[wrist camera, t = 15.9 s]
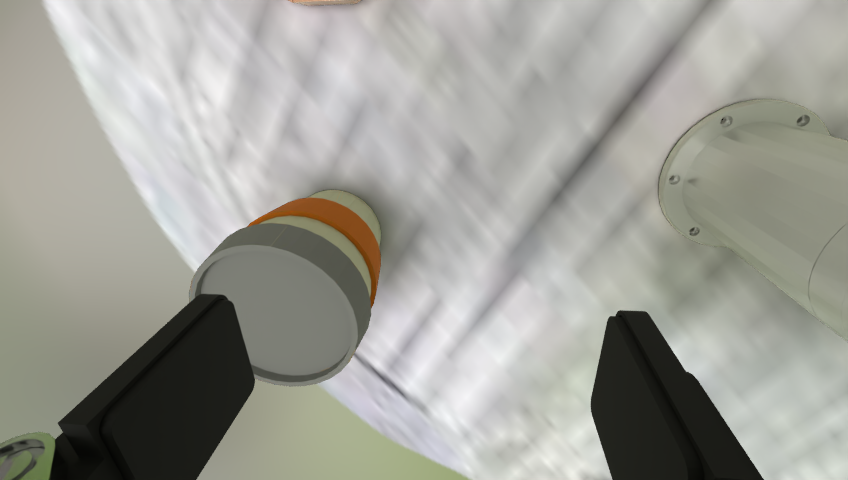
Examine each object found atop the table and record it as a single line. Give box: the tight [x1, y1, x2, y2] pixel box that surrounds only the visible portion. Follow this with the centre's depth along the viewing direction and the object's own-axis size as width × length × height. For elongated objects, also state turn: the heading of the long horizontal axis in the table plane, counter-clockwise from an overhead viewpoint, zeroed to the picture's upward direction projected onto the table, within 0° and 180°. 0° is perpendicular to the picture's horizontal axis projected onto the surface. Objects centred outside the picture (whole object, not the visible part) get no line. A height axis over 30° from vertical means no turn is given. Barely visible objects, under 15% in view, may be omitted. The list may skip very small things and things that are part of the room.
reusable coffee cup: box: [189, 190, 381, 386], centre depth 34 cm, size 13×13×15 cm
